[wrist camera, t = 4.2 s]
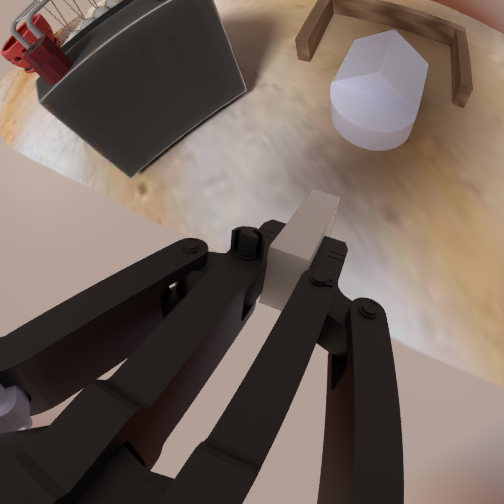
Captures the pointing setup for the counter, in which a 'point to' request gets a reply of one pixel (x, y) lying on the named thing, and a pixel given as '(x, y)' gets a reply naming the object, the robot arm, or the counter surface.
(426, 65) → the wedge on round base
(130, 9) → the voltmeter
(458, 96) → the walnut bay
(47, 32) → the plant pot
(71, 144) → the counter surface
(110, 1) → the newton's cradle
